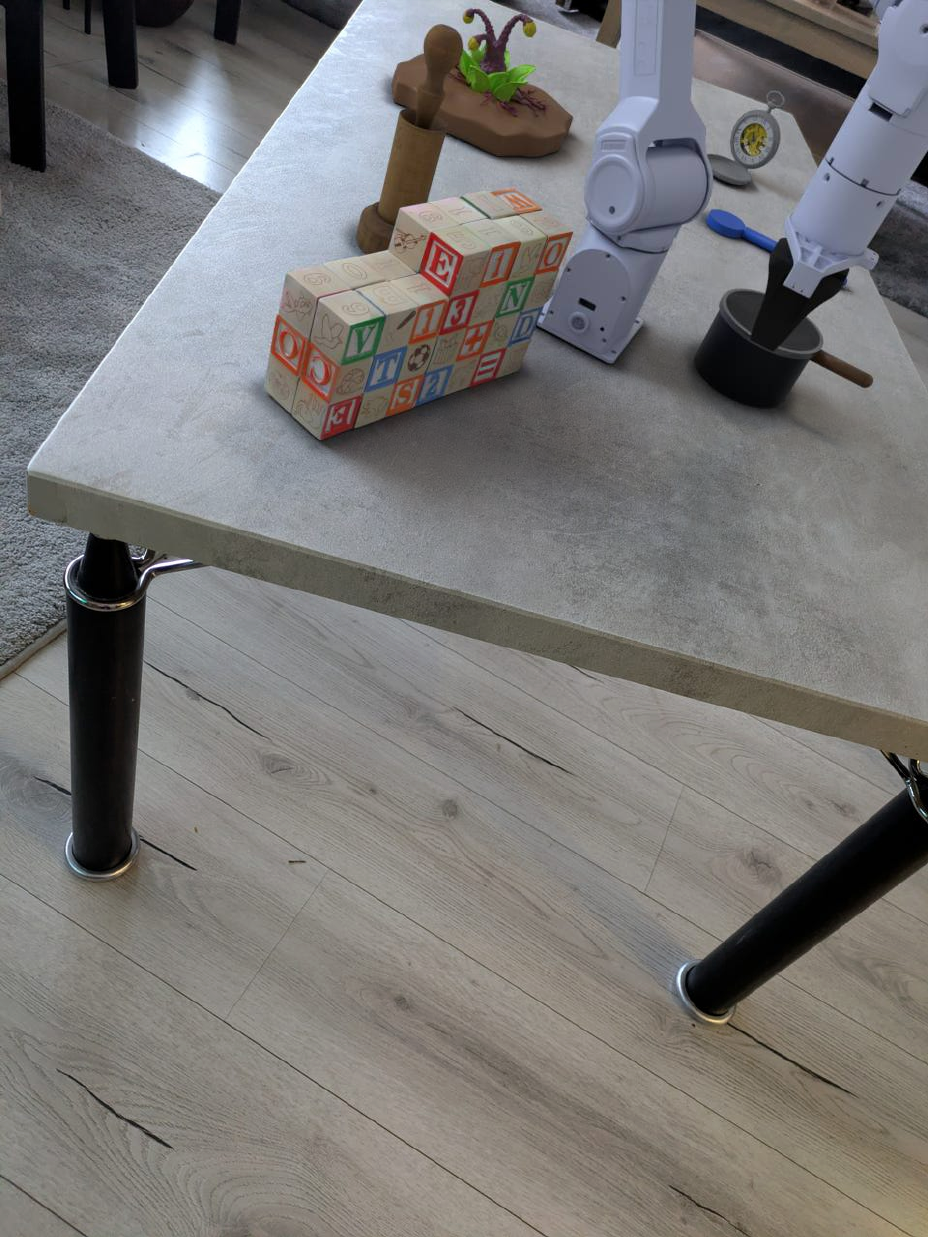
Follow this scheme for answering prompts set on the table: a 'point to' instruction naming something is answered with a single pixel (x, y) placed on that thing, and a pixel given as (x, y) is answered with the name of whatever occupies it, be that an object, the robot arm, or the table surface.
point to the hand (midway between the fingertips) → (763, 342)
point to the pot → (761, 355)
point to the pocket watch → (756, 130)
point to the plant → (491, 96)
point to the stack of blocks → (415, 311)
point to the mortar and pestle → (413, 144)
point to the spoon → (739, 229)
